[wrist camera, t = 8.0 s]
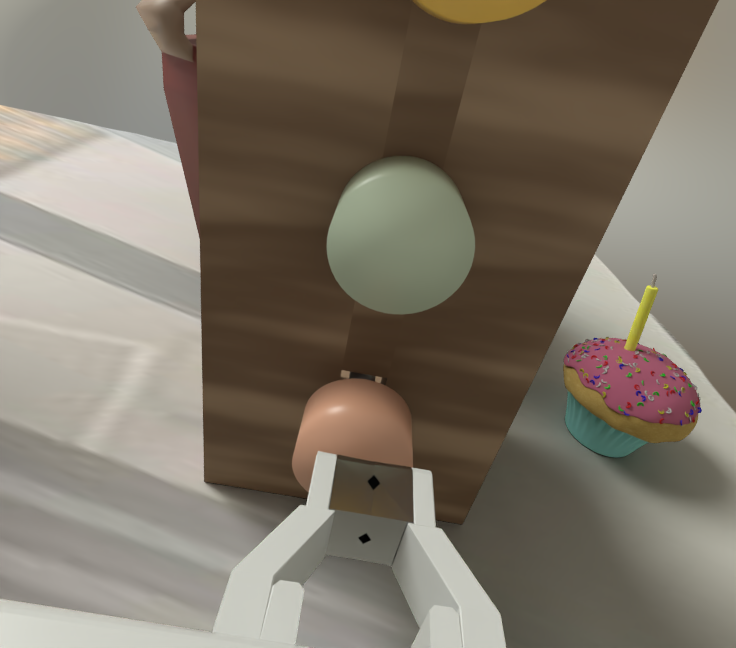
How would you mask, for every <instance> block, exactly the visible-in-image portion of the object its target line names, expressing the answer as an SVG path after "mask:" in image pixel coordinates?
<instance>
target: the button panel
mask: <svg viewBox="0 0 736 648" xmlns="http://www.w3.org/2000/svg"><path fill="white" fill-rule="evenodd" d="M718 1H719V0H546V1H545V2H543V3H541V4H540V5H538V6H537V7H535V8H533V9H531V10H529V11H527V12H525V13H523V14H521V15H518V16H515V17H512V18H508V19H505V20H499V21H493V22H486V23H479V24H456V23H450V22H447V21H443V20H440V19H438V18H436V17H434V16H432V15H430V14H428V13H427V12H425V11H424V10H422V9H421V8H419V7H418V6H417V5H416V4H415V3H414V2H413V1H412V0H196V44H197V100H198V156H199V212H200V268H201V324H202V380H203V436H204V482H210V483H216V484H222V485H228V486H234V487H240V488H246V489H252V490H258V491H264V492H270V493H276V494H282V495H288V496H294V497H300V498H306V499H308V494H309V492H307V491H306V490H305V489H304V488H303V487H302V486H301V485H300V483H299V482H298V481H297V479H296V477H295V475H294V472H293V469H292V458H293V454H294V450H295V446H296V442H297V438H298V434H299V430H300V426H301V422H302V418H303V414H304V410H305V406H306V404H307V402H308V400H309V398H310V397H311V396H312V395H313V393H314V392H316V391H317V390H318V389H319V388H321V387H323V386H324V385H326V384H328V383H331V382H334V381H337V380H342V379H349V374H350V372H355V373H361V374H367V375H372V376H375V382H378V383H381V384H383V385H385V386H387V387H389V388H391V389H392V390H394V391H395V392H396V393H398V394H399V395H400V396H401V397H402V398H403V399H404V401H405V402H406V404H407V406H408V407H409V410H410V413H411V419H412V447H413V468H418V469H423V470H429V471H431V473H432V476H433V490H434V504H435V518H436V520H439V521H445V522H451V523H457V524H463V522H464V520H465V518H466V516H467V514H468V512H469V510H470V508H471V506H472V504H473V502H474V500H475V498H476V496H477V493H478V491H479V489H480V487H481V485H482V483H483V481H484V479H485V477H486V475H487V473H488V471H489V469H490V467H491V465H492V463H493V461H494V459H495V457H496V455H497V453H498V451H499V448H500V446H501V444H502V442H503V440H504V438H505V436H506V434H507V432H508V430H509V428H510V426H511V424H512V422H513V420H514V418H515V416H516V414H517V412H518V410H519V408H520V406H521V403H522V401H523V399H524V397H525V395H526V393H527V391H528V389H529V387H530V385H531V383H532V381H533V379H534V377H535V375H536V373H537V371H538V369H539V367H540V365H541V363H542V361H543V359H544V356H545V354H546V352H547V350H548V348H549V346H550V344H551V342H552V340H553V338H554V336H555V334H556V332H557V330H558V328H559V326H560V324H561V322H562V320H563V318H564V316H565V314H566V311H567V309H568V307H569V305H570V303H571V301H572V299H573V297H574V295H575V293H576V291H577V289H578V287H579V285H580V283H581V281H582V279H583V277H584V275H585V273H586V271H587V269H588V266H589V264H590V262H591V260H592V258H593V256H594V254H595V252H596V250H597V248H598V246H599V244H600V242H601V240H602V238H603V236H604V233H605V232H606V230H607V228H608V226H609V223H610V221H611V219H612V217H613V215H614V213H615V211H616V209H617V207H618V205H619V203H620V201H621V199H622V196H623V195H624V193H625V191H626V189H627V187H628V185H629V183H630V181H631V178H632V176H633V174H634V172H635V170H636V168H637V166H638V164H639V162H640V160H641V158H642V155H643V154H644V152H645V150H646V148H647V146H648V144H649V142H650V139H651V138H652V136H653V133H654V131H655V129H656V127H657V125H658V123H659V121H660V119H661V117H662V115H663V113H664V111H665V109H666V107H667V105H668V103H669V101H670V99H671V96H672V95H673V93H674V91H675V88H676V86H677V84H678V82H679V80H680V78H681V76H682V74H683V72H684V70H685V68H686V66H687V64H688V62H689V60H690V58H691V56H692V54H693V52H694V50H695V47H696V46H697V43H698V41H699V39H700V37H701V35H702V33H703V31H704V29H705V27H706V25H707V23H708V21H709V19H710V17H711V15H712V13H713V11H714V9H715V6H716V5H717V3H718ZM391 156H412V157H417V158H421V159H424V160H426V161H429V162H431V163H433V164H434V165H436V166H438V167H439V168H441V169H442V170H443V171H444V172H445V173H447V175H448V176H449V177H450V178H451V179H452V180H453V182H454V183H455V185H456V186H457V188H458V190H459V192H460V194H461V197H462V199H463V202H464V205H465V207H466V210H467V212H468V215H469V218H470V220H471V223H472V227H473V230H474V236H475V253H474V258H473V262H472V266H471V268H470V271H469V273H468V275H467V277H466V278H465V280H464V282H463V283H462V284H461V286H460V287H459V288H458V289H457V290H456V291H455V292H454V293H453V294H452V295H451V296H450V297H449V298H447V299H446V300H445V301H443V302H442V303H440V304H438V305H437V306H434V307H432V308H430V309H427V310H424V311H421V312H417V313H412V314H388V313H383V312H379V311H375V310H373V309H370V308H368V307H366V306H364V305H362V304H360V303H358V302H357V301H355V300H354V299H353V298H351V297H350V296H349V295H348V294H347V293H346V292H345V291H344V290H343V289H342V288H341V286H340V285H339V283H338V282H337V281H336V279H335V277H334V275H333V273H332V271H331V268H330V265H329V261H328V257H327V236H328V231H329V227H330V224H331V222H332V219H333V216H334V213H335V211H336V208H337V205H338V202H339V200H340V197H341V194H342V192H343V190H344V188H345V186H346V185H347V184H348V182H349V181H350V179H351V178H352V177H353V176H354V175H355V174H356V173H357V172H359V171H360V170H361V169H362V168H364V167H365V166H367V165H369V164H370V163H372V162H374V161H377V160H379V159H383V158H386V157H391Z"/></svg>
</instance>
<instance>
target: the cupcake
mask: <svg viewBox="0 0 736 648" xmlns="http://www.w3.org/2000/svg"><path fill="white" fill-rule="evenodd" d="M656 278H657V276H656V274H653V279H652V282H651V286H647V287H646V290H645V293H644V296H643V298H642V301H641V303H640V306H639V309H638V311H637V314H636V317H635V320H634V322H633V325H632V328H631V330H630V333H629V336H628V339H627V340H623V339H618V338H608V337H606V339H601V338H600V339H598V338H594V340H590V341H589V339H586V340H588V341H586V340H585V343H582V344H581V343H577V344H576V345H574V347H573V348H572V349H571V350H570V351H569V350H567V354H566V355H565V358H564V366H563V371H564V382H565V387H566V389H567V390H568V399H567V409H566V415H565V422H566V426H567V428H568V430H569V431H570V433H571V434H572V435H573V436H574V437H575V438H576V439H577V440H578V441H579V442H580V443H581V444H583V445H584V446H585V447H587V448H589V449H590V450H592V451H594V452H596V453H599V454H601V455H605V456H609V457H624V456H627V455H629V454H630V453H632V452H633V451H635V450H636V449H638V448H639V447H641V446H643V445H645V444H646V443H648V442H650V443H660V442H676V441H680V440H682V439H684V438H685V437H686V436H688V435H689V434H690V433H691V431H692V430H693V429H694V427H695V425H696V423H697V420H698V413H701V411H702V410H701V408H700V397H699V393H697V392H696V390H697V387H696V386H695V385H693V384H692V383H691V381H690V379H689V378H688V377H687V376H686V375H687V374H686V373H685V372H683V369H681V368H679V367H677V365H676V364H674V363H673V362H672V361H671V360H670V359H668V358H667V356H666V355H665V354H660V353H658V352H656V351H655V349H654V348H653V350H652V349H650V348H648V347H645V346H643V345H640V344H639V343H638V341H639V339H640V336H641V334H642V331H643V328H644V326H645V323H646V321H647V318H648V315H649V313H650V310H651V307H652V305H653V302H654V300H655V297H656V294H657V292H658V288H657V287H655V281H656ZM575 346H576V347H575ZM684 373H685V374H684Z"/></svg>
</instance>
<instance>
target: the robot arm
mask: <svg viewBox="0 0 736 648" xmlns="http://www.w3.org/2000/svg"><path fill="white" fill-rule="evenodd" d="M325 555H327V556H335V557H342V558H349V559H357V560H358V559H359V560H362V561H367V562H373V563H378V564H383V565H388V566H392V567H391V568H392V571H393V573H394V575H395V577H396V579H397V581H398V583H399V586H400V588H401V590H402V592H403V594H404V596H405V598H406V601H407V603H408V605H409V607H410V609H411V611H412V613H413V616H414V618H415V620H416V622H417V624H418V626H419V628H420V630H419V632H418V634H417V636H416V638H415V640H414V642H413V644H412V646H411V648H506V643H505V637H504V632H503V626H502V620H501V614H500V613H499V611H498V610H497V608H496V607H495V605H494V604H493V602H492V601H491V600H490V598H489V597H488V595H487V594H486V592H485V591H484V589H483V588H482V586H481V585H480V584H479V582H478V581H477V579H476V578H475V576H474V575H473V573H472V572H471V570H470V569H469V567H468V566H467V565H466V563H465V562H464V560H463V559H462V557H461V556H460V554H459V553H458V551H457V550H456V549H455V547H454V546H453V544H452V543H451V541H450V540H449V538H448V537H447V535H446V534H445V533H444V531H443V530H442V529H441V528H436V518H435V504H434V490H433V476H432V473H431V471H429V470H423V469H418V468H411V467H407V466H401V465H395V464H389V463H382V462H376V461H374V462H373V461H368V460H363V459H358V458H353V457H348V456H343V455H337V454H332V453H326V452H321V451H318V453H317V456H316V460H315V465H314V470H313V474H312V479H311V484H310V489H309V494H308V499H307V503H306V505H300V506H299V507H297V508H296V509H295V510H294V511H293V512H292V513H291V514H290V515H289V516H288V517H287V518H286V519H285V520H284V521H283V522H282V523H281V524H280V525H279V526H278V527H277V528H275V529H274V530H273V531H272V532H271V533H270V534H269V535H268V536H267V537H266V538H265V539H264V540H263V541H262V542H261V543H260V544H259V545H258V546H257V547H256V548H255V549H253V550H252V551H251V552H250V553H249V554H248V555H247V556H246V557H245V558H244V559H243V560H242V561H241V562H240V563H239V564H238V565H237V566H236V567H235V568H234V569H233V570H232V572H231V575H230V578H229V581H228V584H227V587H226V590H225V593H224V596H223V599H222V602H221V605H220V608H219V612H218V615H217V618H216V621H215V624H214V627H213V630H212V632H210V631H204V630H197V629H191V628H184V627H178V626H172V625H165V624H159V623H152V622H146V621H140V620H133V619H127V618H121V617H114V616H108V615H101V614H95V613H89V612H82V611H76V610H70V609H63V608H57V607H50V606H44V605H38V604H31V603H25V602H19V601H12V600H6V599H0V648H313V647H307V646H300V645H295V643H296V637H297V631H298V625H299V619H300V613H301V607H302V601H303V595H304V589H303V587H302V586H303V584H304V583H305V582H306V581H307V579H308V578H309V577H310V576H311V574H312V573H313V572H314V570H315V569H316V568H317V567H318V565H319V564H320V563H321V562H322V560H323V559H324V558H325Z"/></svg>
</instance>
